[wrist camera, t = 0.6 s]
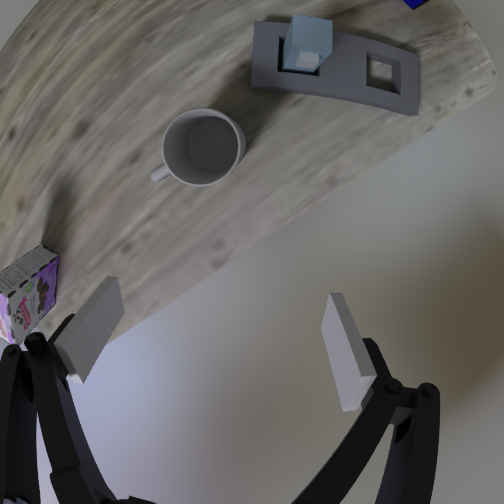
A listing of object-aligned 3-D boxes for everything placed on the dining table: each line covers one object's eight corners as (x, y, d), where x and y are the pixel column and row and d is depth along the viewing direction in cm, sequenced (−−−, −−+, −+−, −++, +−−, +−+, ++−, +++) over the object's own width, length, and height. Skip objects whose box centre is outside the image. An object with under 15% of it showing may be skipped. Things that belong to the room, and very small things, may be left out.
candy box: (56, 305, 48) (16, 351, 33) (37, 292, 47) (-4, 335, 32) (59, 255, 43) (7, 299, 28) (39, 242, 42) (-14, 281, 27)
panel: (254, 28, 29) (254, 21, 26) (409, 59, 29) (418, 55, 26) (251, 89, 33) (250, 85, 30) (408, 115, 33) (418, 115, 30)
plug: (282, 47, 30) (293, 14, 19) (310, 51, 30) (332, 20, 19) (281, 78, 32) (291, 54, 21) (309, 81, 32) (332, 60, 21)
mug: (228, 104, 34) (217, 91, 24) (257, 156, 37) (257, 163, 27) (155, 147, 36) (122, 152, 26) (184, 195, 39) (159, 217, 29)
